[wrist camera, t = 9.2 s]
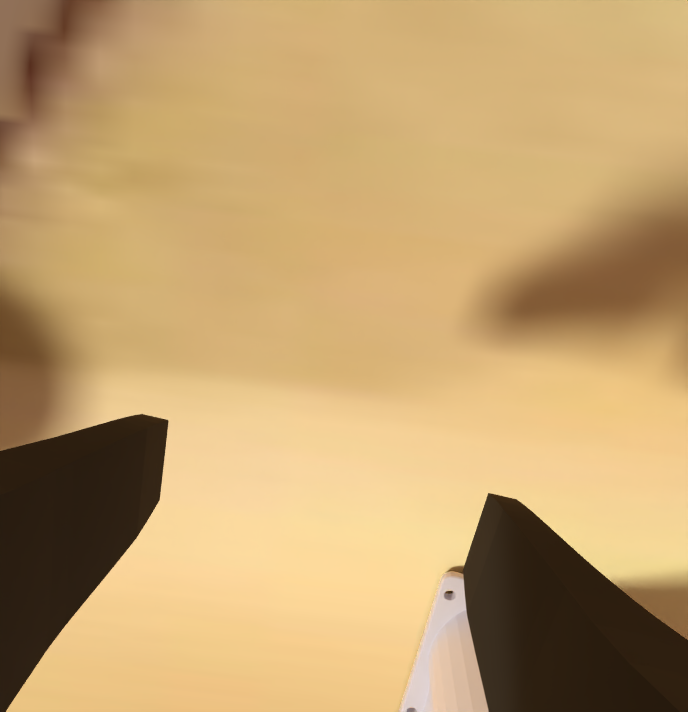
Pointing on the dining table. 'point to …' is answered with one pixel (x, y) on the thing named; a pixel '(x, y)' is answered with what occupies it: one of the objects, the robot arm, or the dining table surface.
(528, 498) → the dining table surface
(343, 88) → the dining table surface
